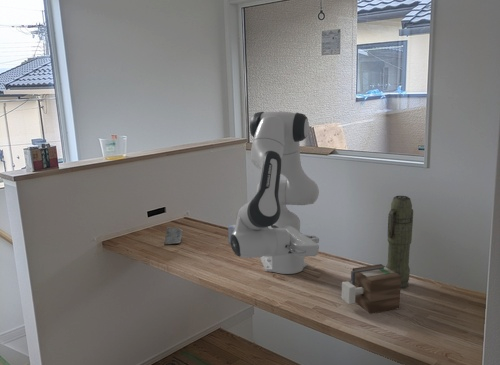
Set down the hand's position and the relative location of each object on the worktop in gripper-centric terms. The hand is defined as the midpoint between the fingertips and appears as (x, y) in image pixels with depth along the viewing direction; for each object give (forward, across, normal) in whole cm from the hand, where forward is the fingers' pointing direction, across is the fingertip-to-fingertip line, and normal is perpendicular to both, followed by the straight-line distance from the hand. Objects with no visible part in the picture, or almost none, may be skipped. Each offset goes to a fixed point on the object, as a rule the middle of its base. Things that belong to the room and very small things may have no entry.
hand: (317, 239), depth 162 cm
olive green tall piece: (+42, +7, +24) cm, 49 cm away
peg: (+19, -4, +22) cm, 29 cm away
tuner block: (+24, -5, +24) cm, 34 cm away
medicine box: (+1, +76, +30) cm, 82 cm away
